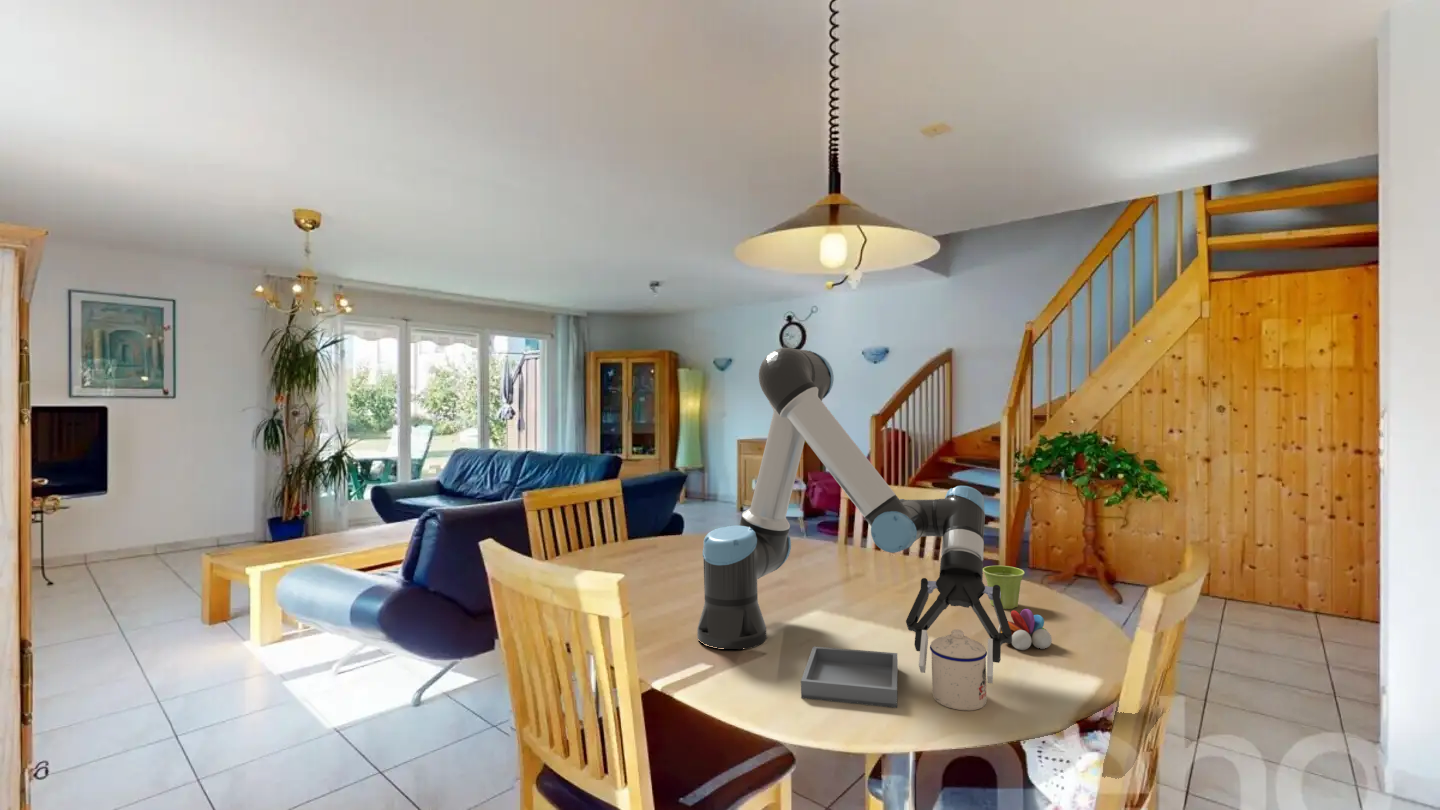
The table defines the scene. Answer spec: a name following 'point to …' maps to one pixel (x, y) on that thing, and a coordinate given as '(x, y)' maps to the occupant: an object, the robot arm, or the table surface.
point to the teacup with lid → (959, 671)
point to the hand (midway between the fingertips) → (955, 674)
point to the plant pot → (1005, 583)
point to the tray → (851, 676)
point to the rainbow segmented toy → (1028, 630)
